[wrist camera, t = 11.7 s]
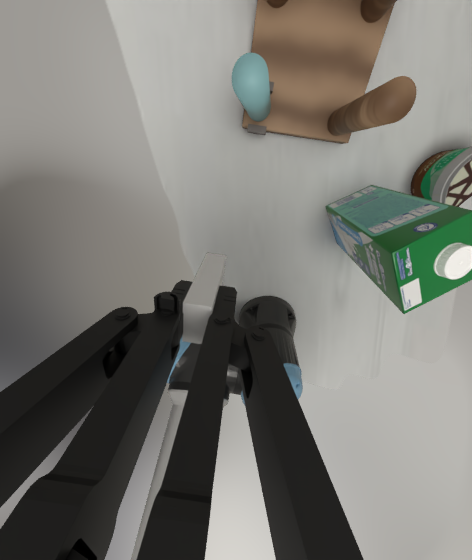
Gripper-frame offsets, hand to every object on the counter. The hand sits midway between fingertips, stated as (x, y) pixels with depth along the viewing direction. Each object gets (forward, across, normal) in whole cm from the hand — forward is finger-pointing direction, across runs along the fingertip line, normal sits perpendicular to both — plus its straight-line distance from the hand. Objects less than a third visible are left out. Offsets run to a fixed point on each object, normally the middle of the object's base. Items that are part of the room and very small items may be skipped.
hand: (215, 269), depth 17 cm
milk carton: (+33, -24, 0) cm, 40 cm away
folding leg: (+27, -1, -14) cm, 31 cm away
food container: (+33, -34, -10) cm, 48 cm away
